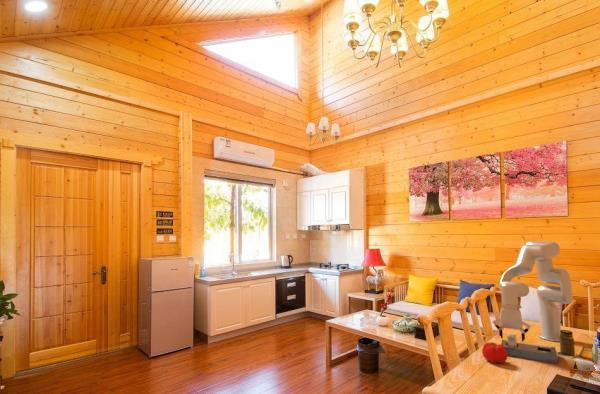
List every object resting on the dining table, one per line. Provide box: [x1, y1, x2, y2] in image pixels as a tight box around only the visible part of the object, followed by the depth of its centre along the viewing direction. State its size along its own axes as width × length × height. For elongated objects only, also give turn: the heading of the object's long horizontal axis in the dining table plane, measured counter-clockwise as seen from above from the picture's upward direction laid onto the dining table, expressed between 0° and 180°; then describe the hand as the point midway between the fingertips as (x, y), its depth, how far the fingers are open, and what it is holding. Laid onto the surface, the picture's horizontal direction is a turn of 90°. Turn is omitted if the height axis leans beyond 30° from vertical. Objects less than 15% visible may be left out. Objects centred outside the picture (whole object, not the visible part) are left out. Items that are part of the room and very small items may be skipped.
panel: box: [500, 338, 559, 365], centre depth 179 cm, size 14×24×4 cm, turn 57°
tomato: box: [481, 341, 508, 364], centre depth 170 cm, size 11×11×9 cm
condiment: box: [556, 329, 579, 359], centre depth 180 cm, size 7×8×12 cm
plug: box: [506, 333, 518, 347], centre depth 182 cm, size 5×4×9 cm
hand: (512, 339), depth 183 cm, fingers open, 9 cm apart
